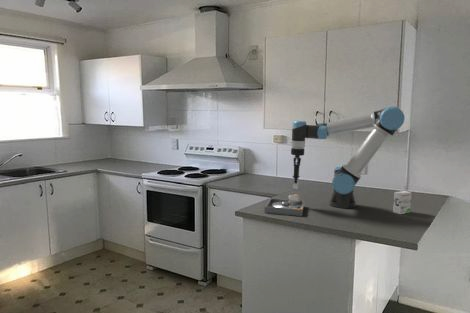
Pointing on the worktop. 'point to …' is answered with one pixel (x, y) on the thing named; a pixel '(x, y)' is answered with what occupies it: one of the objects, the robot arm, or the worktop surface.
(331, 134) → the robot arm
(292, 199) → the dial
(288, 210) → the grey square tray
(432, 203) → the worktop surface
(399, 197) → the ink box
